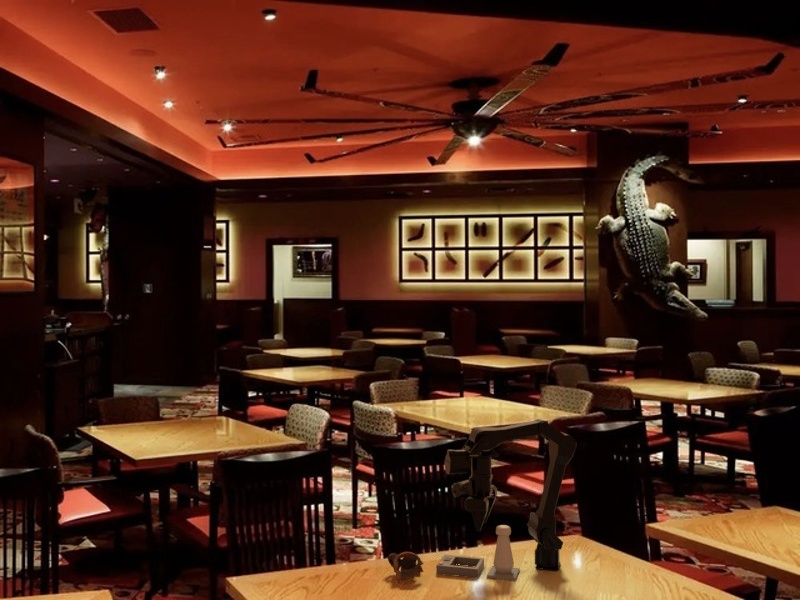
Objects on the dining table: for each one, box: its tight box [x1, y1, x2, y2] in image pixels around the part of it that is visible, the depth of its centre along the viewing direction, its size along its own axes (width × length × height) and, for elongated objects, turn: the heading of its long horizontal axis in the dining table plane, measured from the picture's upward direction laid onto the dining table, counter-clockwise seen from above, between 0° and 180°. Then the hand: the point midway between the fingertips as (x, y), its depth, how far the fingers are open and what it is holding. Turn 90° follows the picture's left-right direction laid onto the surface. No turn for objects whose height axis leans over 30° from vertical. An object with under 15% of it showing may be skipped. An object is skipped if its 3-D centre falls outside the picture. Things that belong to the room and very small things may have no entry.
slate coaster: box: [486, 565, 520, 582], centre depth 225 cm, size 8×8×1 cm
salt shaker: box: [493, 524, 515, 574], centre depth 225 cm, size 6×6×13 cm
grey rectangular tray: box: [435, 554, 485, 579], centre depth 229 cm, size 12×10×3 cm
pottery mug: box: [387, 551, 424, 583], centre depth 224 cm, size 12×10×8 cm
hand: (481, 526), depth 227 cm, fingers open, 9 cm apart
